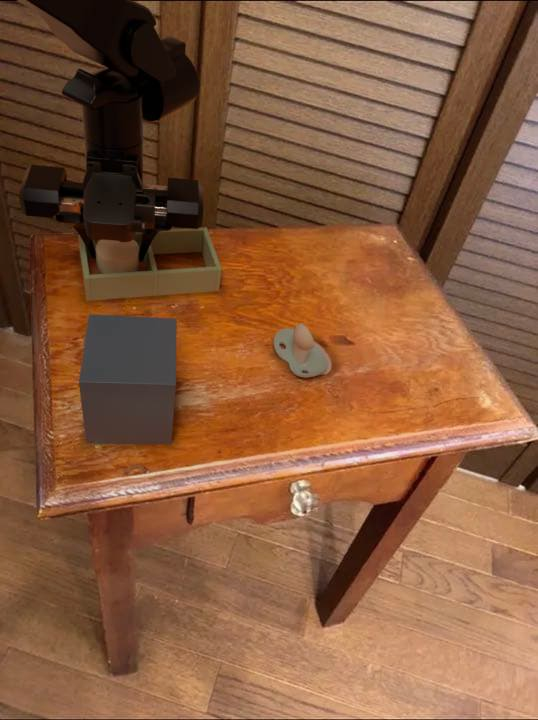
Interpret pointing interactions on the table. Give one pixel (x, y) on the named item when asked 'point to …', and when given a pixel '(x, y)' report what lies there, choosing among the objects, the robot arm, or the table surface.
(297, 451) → the table surface
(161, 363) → the stand
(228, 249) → the table surface
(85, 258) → the olive green divided tray
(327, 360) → the pacifier
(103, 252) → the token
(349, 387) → the table surface
